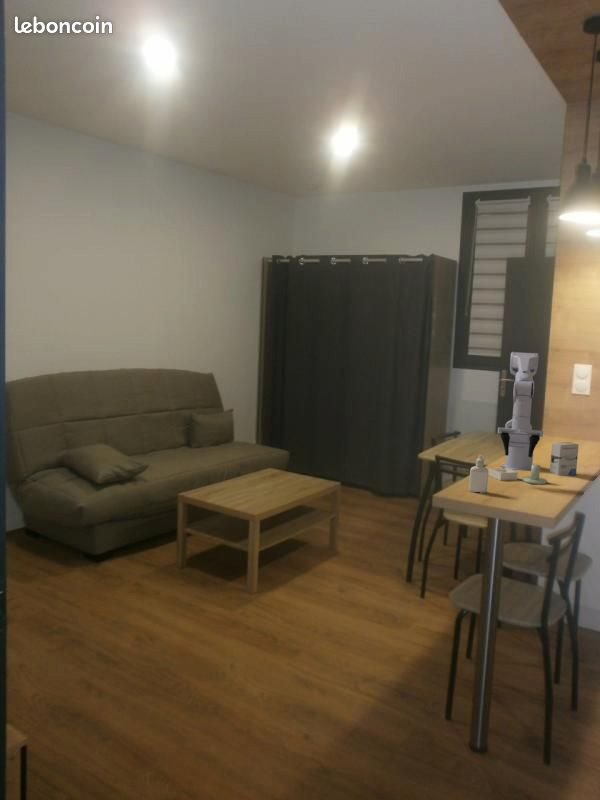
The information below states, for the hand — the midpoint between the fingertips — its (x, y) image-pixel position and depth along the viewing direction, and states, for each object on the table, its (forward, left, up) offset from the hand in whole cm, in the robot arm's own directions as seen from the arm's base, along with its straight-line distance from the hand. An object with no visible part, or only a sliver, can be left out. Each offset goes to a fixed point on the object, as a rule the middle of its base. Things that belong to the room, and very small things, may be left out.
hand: (518, 456), depth 225 cm
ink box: (-28, -10, -10) cm, 32 cm away
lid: (-9, -1, -10) cm, 13 cm away
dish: (-1, -8, -10) cm, 13 cm away
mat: (-9, -1, -10) cm, 13 cm away
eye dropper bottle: (+19, +5, -10) cm, 22 cm away
